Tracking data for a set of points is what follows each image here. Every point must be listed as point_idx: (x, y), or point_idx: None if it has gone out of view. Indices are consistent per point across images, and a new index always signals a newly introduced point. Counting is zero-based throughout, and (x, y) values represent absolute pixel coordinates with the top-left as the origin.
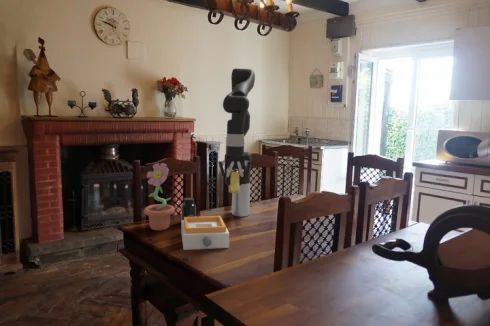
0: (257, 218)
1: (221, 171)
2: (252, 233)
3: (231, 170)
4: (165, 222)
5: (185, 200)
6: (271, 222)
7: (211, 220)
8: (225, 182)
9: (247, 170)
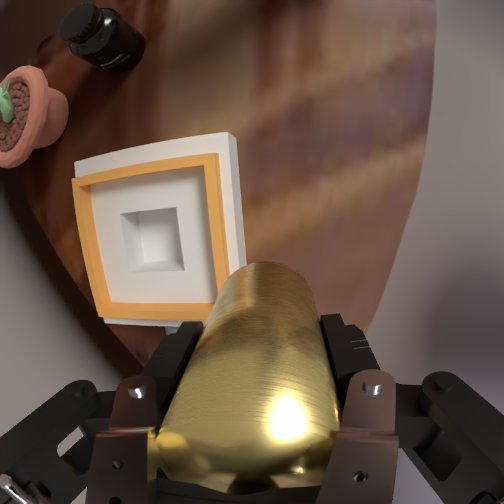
0: (387, 9)
1: (75, 459)
2: (355, 166)
3: (191, 454)
4: (47, 137)
5: (63, 38)
6: (432, 61)
7: (177, 169)
8: (162, 347)
9: (446, 472)
